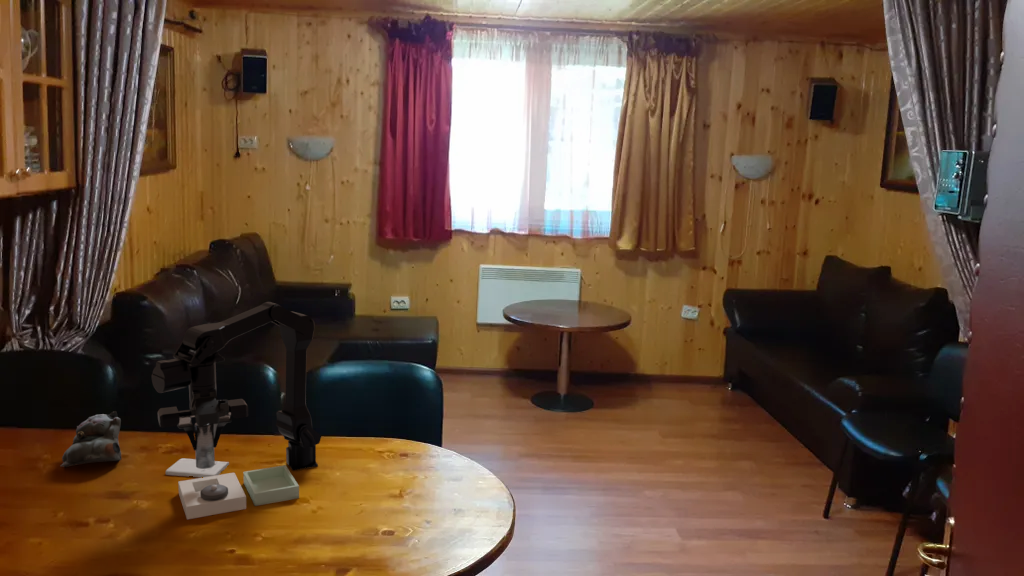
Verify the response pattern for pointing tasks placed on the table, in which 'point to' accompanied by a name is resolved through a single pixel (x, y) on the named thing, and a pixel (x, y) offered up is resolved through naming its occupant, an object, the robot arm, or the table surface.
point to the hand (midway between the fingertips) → (204, 448)
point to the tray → (271, 485)
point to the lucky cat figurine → (95, 441)
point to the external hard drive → (195, 468)
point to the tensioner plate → (211, 506)
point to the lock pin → (204, 446)
